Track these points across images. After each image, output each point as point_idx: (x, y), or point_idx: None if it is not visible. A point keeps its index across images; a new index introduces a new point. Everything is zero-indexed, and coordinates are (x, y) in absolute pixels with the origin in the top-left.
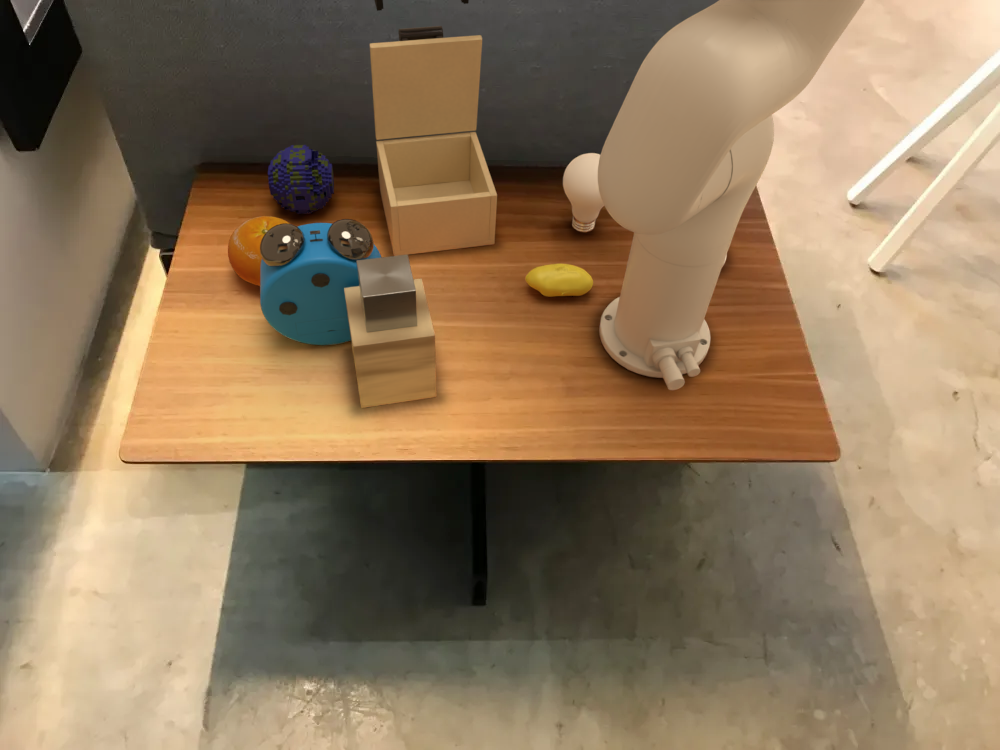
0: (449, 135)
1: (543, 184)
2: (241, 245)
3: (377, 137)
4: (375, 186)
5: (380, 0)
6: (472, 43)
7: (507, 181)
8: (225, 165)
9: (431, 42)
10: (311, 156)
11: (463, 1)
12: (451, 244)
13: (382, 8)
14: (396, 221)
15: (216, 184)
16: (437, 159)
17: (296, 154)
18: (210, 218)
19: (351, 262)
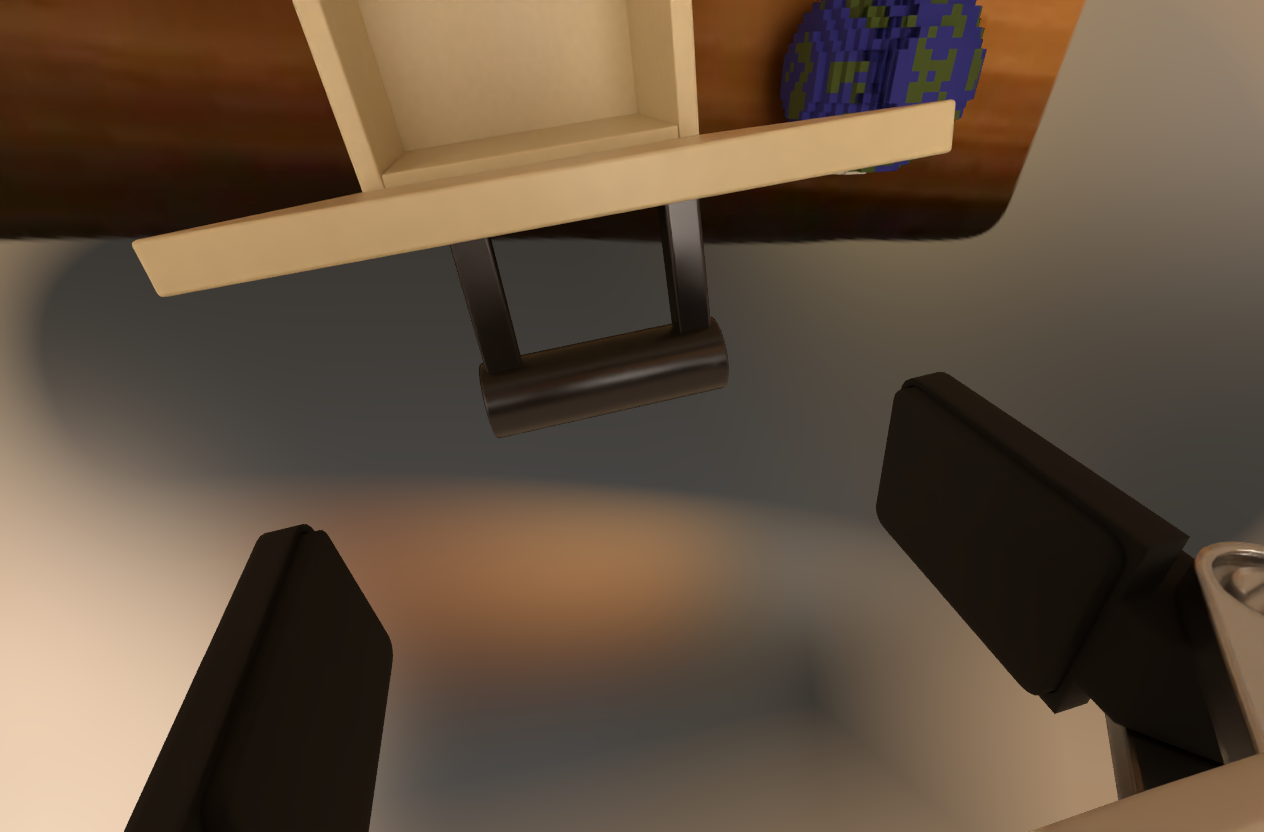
0: (458, 175)
1: (167, 151)
2: None
3: (702, 134)
4: None
5: (963, 411)
6: (227, 223)
7: (292, 167)
8: (967, 229)
9: (545, 180)
10: (889, 76)
11: (305, 536)
12: None
13: (907, 389)
14: None
15: (998, 160)
16: (499, 145)
17: (933, 77)
18: (1042, 22)
19: None
